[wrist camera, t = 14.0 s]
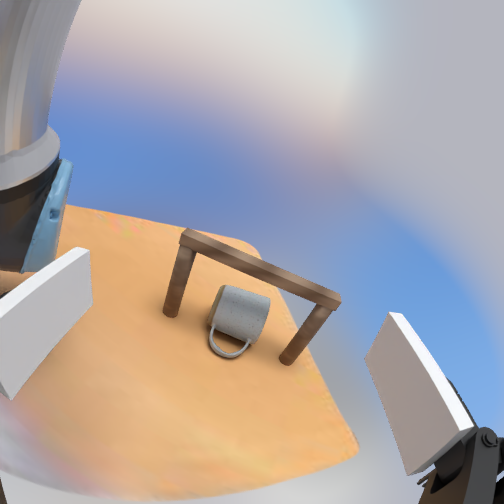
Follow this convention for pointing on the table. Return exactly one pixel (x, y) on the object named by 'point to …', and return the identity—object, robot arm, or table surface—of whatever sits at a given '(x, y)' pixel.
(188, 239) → the walnut gate
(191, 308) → the table surface
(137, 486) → the table surface
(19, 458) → the table surface
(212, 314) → the ceramic mug
